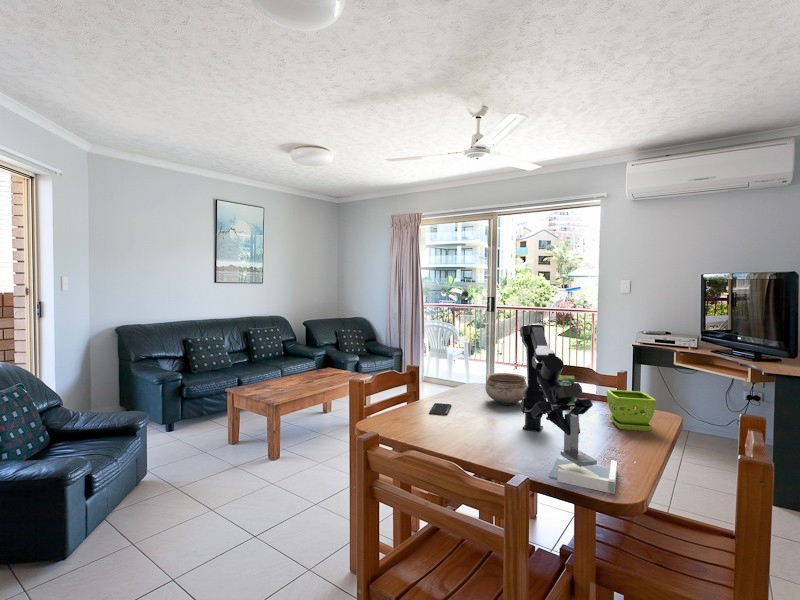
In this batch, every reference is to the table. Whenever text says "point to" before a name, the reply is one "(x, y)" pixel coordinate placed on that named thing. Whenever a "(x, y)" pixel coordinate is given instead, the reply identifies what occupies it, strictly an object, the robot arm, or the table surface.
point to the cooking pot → (506, 387)
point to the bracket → (575, 444)
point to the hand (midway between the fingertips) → (574, 434)
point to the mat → (578, 469)
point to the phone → (440, 409)
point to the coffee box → (567, 383)
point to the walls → (590, 479)
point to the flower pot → (631, 409)
